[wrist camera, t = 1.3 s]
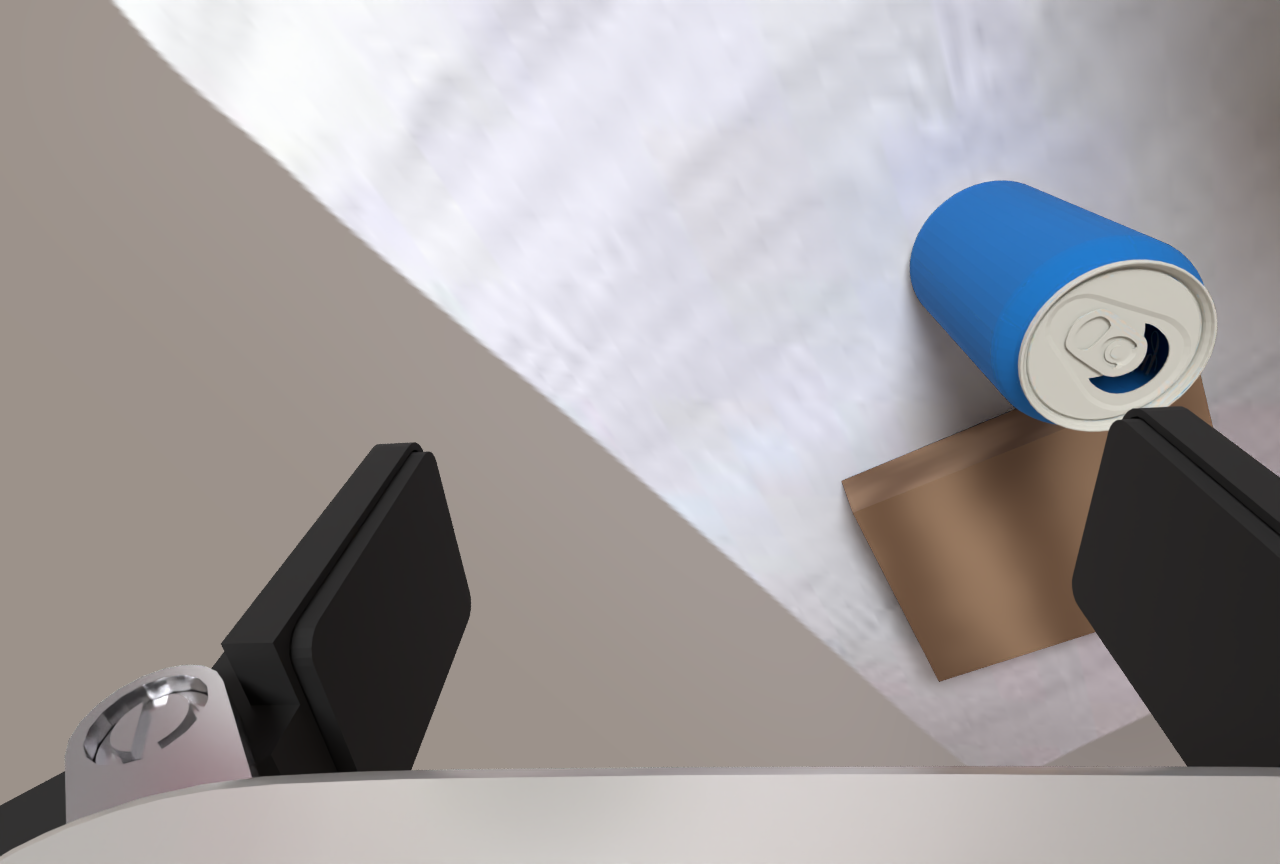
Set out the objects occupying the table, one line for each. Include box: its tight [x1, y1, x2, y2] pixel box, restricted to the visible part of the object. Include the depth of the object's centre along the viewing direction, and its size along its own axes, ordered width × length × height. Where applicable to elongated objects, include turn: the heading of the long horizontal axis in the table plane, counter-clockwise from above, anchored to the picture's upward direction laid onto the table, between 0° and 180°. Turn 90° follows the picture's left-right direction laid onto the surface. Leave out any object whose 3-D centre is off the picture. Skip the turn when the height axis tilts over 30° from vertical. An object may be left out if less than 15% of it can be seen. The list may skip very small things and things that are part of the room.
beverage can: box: [910, 181, 1217, 432], centre depth 27 cm, size 6×6×12 cm
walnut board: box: [842, 375, 1213, 682], centre depth 38 cm, size 16×13×3 cm
